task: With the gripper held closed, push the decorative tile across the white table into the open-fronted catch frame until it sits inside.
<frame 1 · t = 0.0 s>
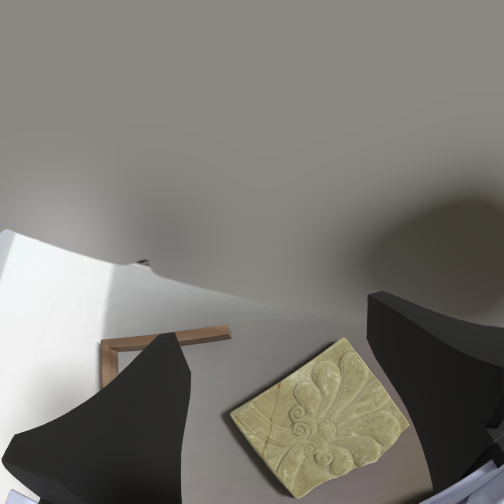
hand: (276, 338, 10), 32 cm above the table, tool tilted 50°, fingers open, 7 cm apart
catch frame: (207, 443, 34), on the table
decorative tile: (323, 425, 34), on the table
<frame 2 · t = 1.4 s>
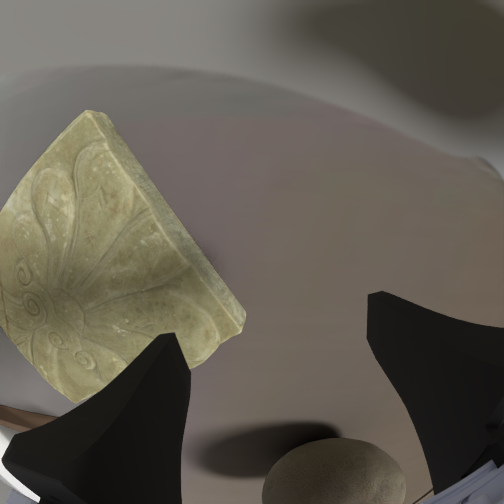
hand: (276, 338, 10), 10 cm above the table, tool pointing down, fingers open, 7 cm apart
cantaloupe: (317, 441, 27), on the table
decorative tile: (86, 287, 20), on the table
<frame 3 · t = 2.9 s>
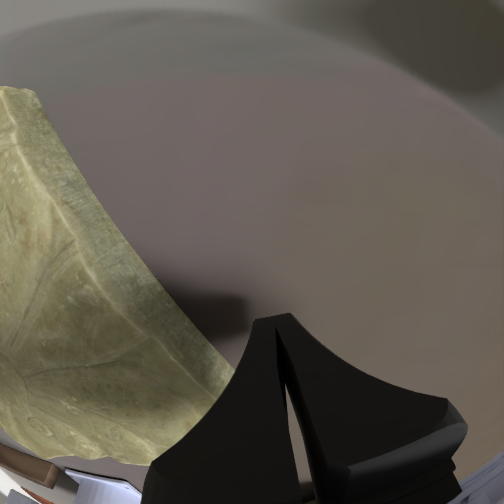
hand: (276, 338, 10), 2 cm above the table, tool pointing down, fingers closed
decorative tile: (33, 334, 12), on the table
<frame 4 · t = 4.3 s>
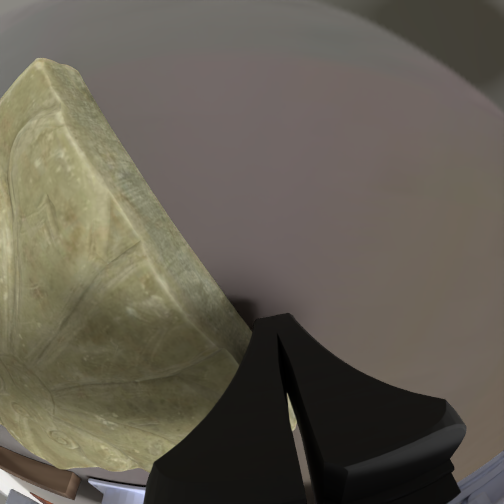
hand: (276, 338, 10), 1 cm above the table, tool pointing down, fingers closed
decorative tile: (56, 341, 12), on the table, touching gripper
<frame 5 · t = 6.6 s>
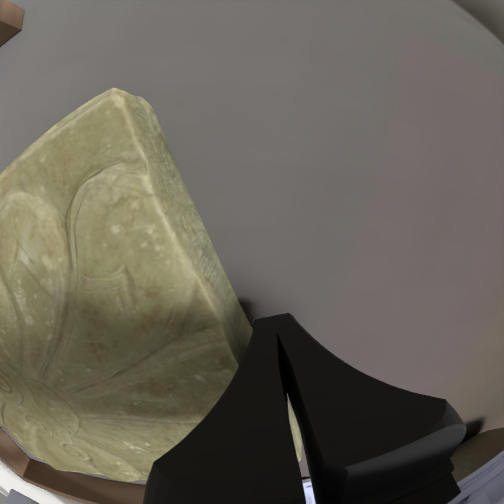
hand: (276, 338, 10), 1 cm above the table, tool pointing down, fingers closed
catch frame: (15, 346, 11), on the table
cantaloupe: (463, 440, 19), on the table
decorative tile: (79, 362, 12), on the table
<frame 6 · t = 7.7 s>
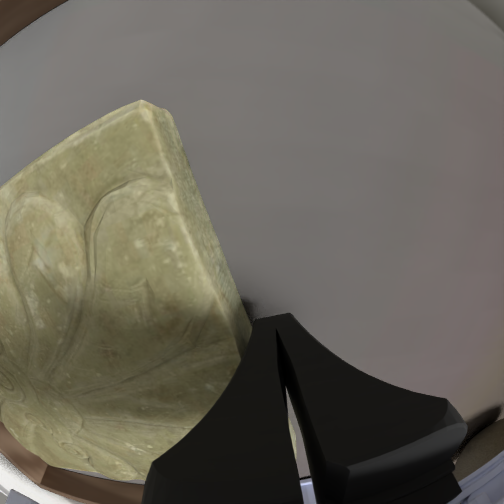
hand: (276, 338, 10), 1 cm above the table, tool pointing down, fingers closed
catch frame: (48, 345, 11), on the table
cantaloupe: (482, 428, 19), on the table
decorative tile: (82, 363, 13), on the table, touching gripper
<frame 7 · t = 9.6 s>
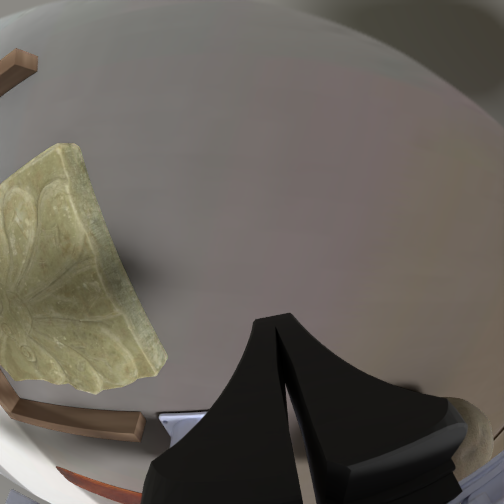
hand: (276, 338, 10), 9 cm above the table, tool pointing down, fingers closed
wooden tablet: (121, 491, 33), on the table
catch frame: (23, 276, 18), on the table
cantaloupe: (401, 408, 26), on the table
decorative tile: (40, 291, 20), on the table
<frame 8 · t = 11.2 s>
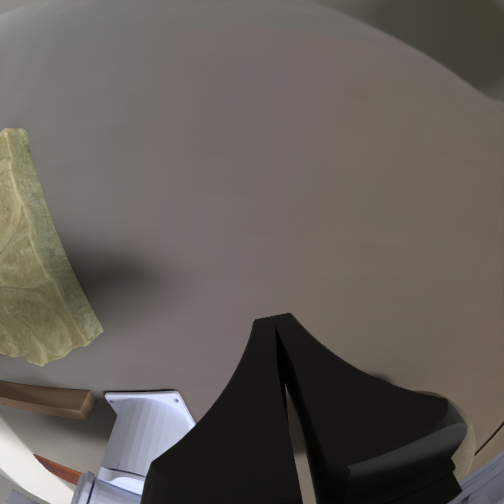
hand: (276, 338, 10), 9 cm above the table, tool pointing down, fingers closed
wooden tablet: (95, 481, 32), on the table
cantaloupe: (370, 402, 25), on the table
decorative tile: (0, 267, 19), on the table
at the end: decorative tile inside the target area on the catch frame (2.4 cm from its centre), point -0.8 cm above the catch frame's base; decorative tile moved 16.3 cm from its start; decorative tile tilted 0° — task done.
